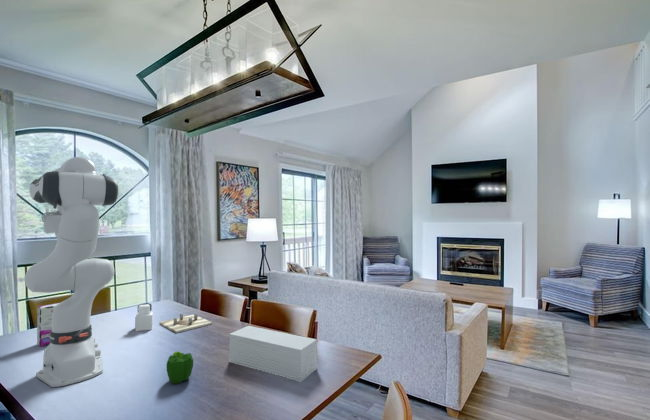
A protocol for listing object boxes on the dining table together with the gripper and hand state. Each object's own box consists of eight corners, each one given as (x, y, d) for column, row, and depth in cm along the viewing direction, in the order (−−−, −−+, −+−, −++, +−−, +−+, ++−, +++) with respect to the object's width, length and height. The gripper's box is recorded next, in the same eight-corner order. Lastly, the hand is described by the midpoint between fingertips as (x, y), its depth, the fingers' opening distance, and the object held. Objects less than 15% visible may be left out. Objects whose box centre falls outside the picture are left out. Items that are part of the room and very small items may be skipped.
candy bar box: (68, 337, 147) (69, 300, 148) (71, 339, 144) (72, 302, 145) (36, 344, 139) (37, 306, 139) (39, 347, 136) (40, 308, 136)
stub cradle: (211, 324, 166) (211, 316, 166) (176, 333, 153) (176, 324, 153) (193, 316, 179) (194, 308, 180) (159, 323, 166) (159, 316, 166)
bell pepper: (185, 371, 114) (185, 343, 114) (197, 379, 109) (197, 349, 109) (160, 380, 108) (161, 350, 108) (172, 389, 102) (172, 357, 103)
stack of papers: (229, 362, 122) (229, 333, 122) (248, 352, 131) (248, 325, 132) (300, 382, 107) (301, 349, 107) (316, 369, 116) (316, 339, 117)
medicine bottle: (136, 327, 161) (137, 303, 161) (152, 325, 164) (153, 301, 164) (135, 332, 154) (135, 306, 155) (151, 329, 157) (152, 305, 158)
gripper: (43, 211, 136) (48, 243, 136) (98, 207, 153) (103, 236, 152) (38, 213, 139) (43, 245, 139) (93, 209, 156) (97, 237, 156)
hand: (75, 240), depth 146 cm, fingers open, 8 cm apart
